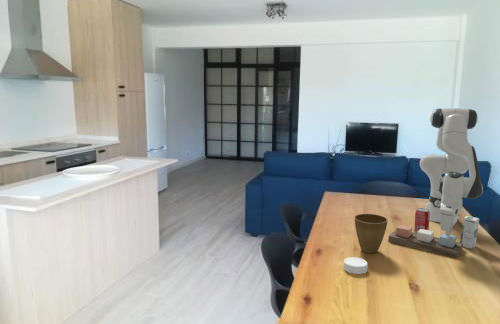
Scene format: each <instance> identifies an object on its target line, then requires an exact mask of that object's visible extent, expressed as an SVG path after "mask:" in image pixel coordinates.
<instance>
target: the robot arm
mask: <svg viewBox="0 0 500 324" xmlns="http://www.w3.org/2000/svg"><path fill="white" fill-rule="evenodd" d="M429 121H430V124H431V126H432V128H437V129H438V130H437V138H436V147H437V149H439V150H440V151H441V152H444V153H445V154H434V153H433V154H425V155H423V156H422V157H421V158H420V160H419V168H420V169H421V171H422V172H424V173H425V175H427V177H428V178H429V181H430V195H429V197H428V199H429V200H428V202H427V203H426V204H425V209H428V210H429V212H430V220H429V221H431V222H436V223H439V225H440V227H439V228H440V231H444V232H445V234H446V236H450V235H452V230H453V227H454V226H455V224H456V223H457V222H458V220H459V219H458V218H459V213H462V210H463V198H465V199H470V200H475V199H478V198H479V197H481V196H482V194H483V192H484V187H483V183H482V180H481V175H480V169H479V162H478V157H477V151H476V148H475V147H474V145H471V143H470V142H469V140H468V130H472V129H474V128H475V127H476V125H477V123H478V121H479V117H478V113H477V112H476V110H474V109H470V108H468V109H466V108H461V107H460V108H459V107H453V108H452V107H451V108H435V109H434V110H433V111H432V113H431V114H430V118H429ZM467 171H468V173H469V177H466V176H465V177H464V174H465V173H466V172H467ZM443 174H444V176H442V175H443Z"/></svg>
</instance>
